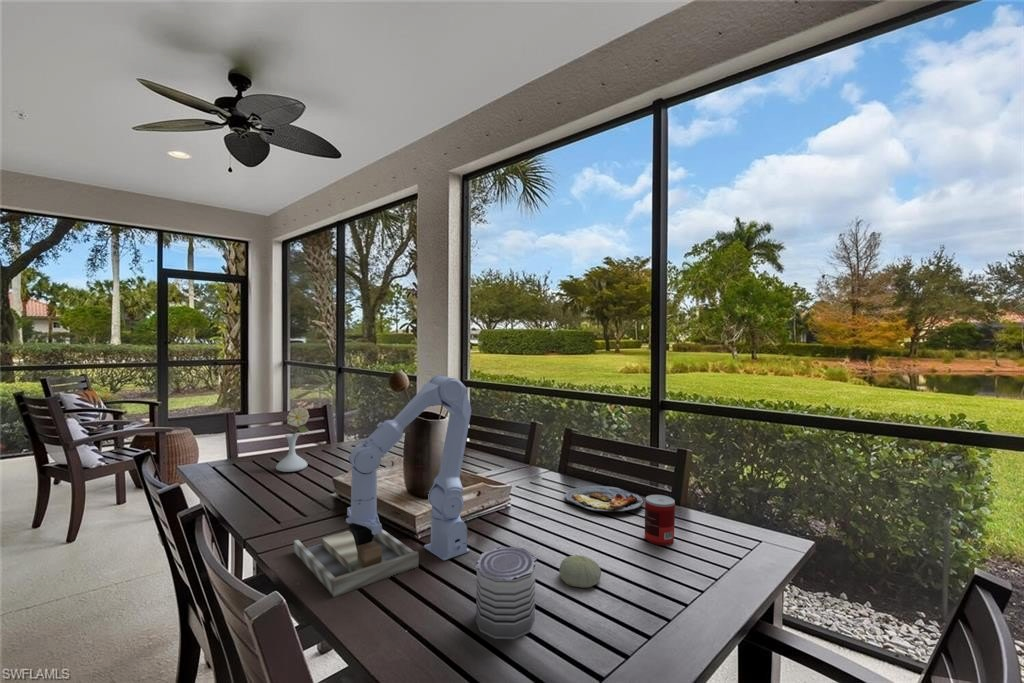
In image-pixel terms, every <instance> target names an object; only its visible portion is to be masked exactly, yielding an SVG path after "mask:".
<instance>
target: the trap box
mask: <svg viewBox="0 0 1024 683" xmlns="http://www.w3.org/2000/svg"><path fill="white" fill-rule="evenodd" d="M372 541H375V542H376V543H377V544H379V545H380V546H381V547H382V562H381V563H378V564H375V565H372V566H369V567H366V568H362V567H361V566H360V565H359V564H358V563H357V548H356V544H355V540H354V537H353V534H352V532H351V530H350V531H349V530H345V531H344V532H339V533H335V534H331V535H329V536H328V535H327V536H324V537H321V543H318V544H314V545H311V546H308V547H306V545H304V544H303V543H302V542H301V541H300V540H299V539H295V540H293V553H294V554H295V556H296V555H297V556H298V557H299V558H300V559H301V560H300V559H299V558H298V557H297V556H296V557H297V558H298V559H299V560H300V561H301V562H302V564H304V566H305V565H306V566H305V567H306V568H307V569H308V570H309V572H311V574H314V575H313V576H314V577H315V578H316V579H317V581H318V582H319V583H320V584H321V583H322V584H321V585H322V586H323V587H324V588H325V589H326V590H327V591H328V593H330V595H331V596H332V598H335V597H339V596H341V595H344V594H347V593H350V592H353V591H355V589H356V590H358V589H361V588H364V587H367V586H369V585H368V584H370V585H372V584H375V583H377V581H378V582H380V580H381V581H384V580H387V579H389V578H392V577H394V576H393V575H395V576H397V575H396V574H398V575H400V574H399V573H401V572H403V573H406V572H408V570H409V571H411V570H410V569H412V570H414V569H413V568H415V569H417V568H419V563H420V562H419V561H420V560H419V557H420V556H419V555H420V554H419V551H417V550H415V551H414V550H413V549H412V548H410V547H409V546H407V545H406V544H404V542H402V541H400V540H399V539H397V538H396V537H394V536H393V535H391V533H389V532H387V531H386V530H384V529H383V528H382V533H379V534H375V535H374V537H373V539H372ZM416 567H417V568H416ZM405 571H406V572H405ZM401 574H402V573H401ZM391 576H392V577H391ZM383 579H384V580H383ZM374 582H375V583H374ZM371 583H372V584H371ZM366 585H367V586H366ZM363 586H364V587H363Z"/></svg>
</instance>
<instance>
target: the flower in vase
mask: <svg viewBox="0 0 1024 683" xmlns="http://www.w3.org/2000/svg"><path fill="white" fill-rule="evenodd" d="M309 414H310V413H309V410H308V409H306V408H304V407H300V406H299V407H297V408H296V407H294V409H291V410H290V412H288V415H286V420H287V423H288V425H289V426H292V427H293V426H294V427H295V428H297V429H296V430H295V431H294V430H293V429H291V428H288V427H286V426H285V428H286V429H287V430H290V431H292V432H294V433H289V434H285V435H284V436H285V438H286V440H287V442H288V452H287V455H286V456H285V457H283V458H282V459H281V460H280V461H279V462H278V463H277V464H276V466H275V469H276V470H277V471H279V472H284V473H287V472H288V473H291V472H298V471H301V470H304V469H305V468H306V467H307V466H308V462H307V461H306V460H305V459H304V458H303V457H301V456H299V455H298V454H297V453H296V444H297V443H296V442H297V439H298V438H299V436H300V434H298V433H297V431H298V432H300V433H301V434H302V433H303V434H304V433H307V432H309V431H310V430H309V429H308V428H307V427H306V426H305V425H306V423H307V421H309V418H310V415H309Z"/></svg>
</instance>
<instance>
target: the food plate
mask: <svg viewBox="0 0 1024 683" xmlns="http://www.w3.org/2000/svg"><path fill="white" fill-rule="evenodd" d="M564 496H565V498H566V501H569V502H571V503H573V504H575V505H577V506H580V507H583V509H587V510H591V511H594V512H599V513H601V512H603V513H622V512H627V511H632V510H637V509H640V508H641V507H642V506H643V504H645V500H643V498H642V497H641V496H639V494H637V493H634V492H632V491H628V490H625V489H622V488H620V487H614V486H608V485H607V486H603V485H601V486H600V485H583V486H578V487H575V488H570V490H569V491H567V492H566V493H565V495H564Z"/></svg>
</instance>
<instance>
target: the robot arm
mask: <svg viewBox="0 0 1024 683" xmlns="http://www.w3.org/2000/svg"><path fill="white" fill-rule="evenodd" d="M467 392H468V387H467V386H465V384H464V383H463V382H462V381H461V380H460V379H458V378H456V377H450V376H445V375H443V374H437V375H435V376H433V377H432V378H431V379H430V380H429V382H426V383H425V384H424V385H423V386H422V387H421V388H420V390H419V391H418V392H417V393H416V395H414V397H413V398H412V399H411V400H410V401H409V402H408V403H407V404H406V405H405V406H404V408H402V410H400V412H399V413H398V414H397V415H396V416H395V417H394V418H393V419H388V420H387V419H386V420H384V421H383V422H379V423H378V424H376V427H377V428H376V429H375V430H374V431H373V432H372V433H371V434H369V436H368V437H367V438H363V439H362V441H361V442H362V443H360V444H357V445H355V446H354V447H353V448H352V450H351V452H350V454H349V455H348V461H349V462H350V464H351V466H352V467H351V480H350V481H351V483H350V485H351V486H350V488H351V489H350V491H351V492H350V506H349V507H347V508H346V510H347V511H346V515H347V516H348V517H346V519H345V522H346V523H347V524H349V525H348V528H349V530H350V532H351V533H352V534H353V537H354V540H355V544H356V548H357V550H358V546H359V545H362V544H366V543H369V542H372V539H373V537H374V535H375V534H379V533H382V529H383V526H382V523H381V522H380V519H379V515H378V512H377V511H378V510H377V509H378V507H377V503H378V502H377V501H378V499H377V496H378V495H377V491H378V477H377V475H378V474H377V473H378V472H377V469H379V467H380V464H381V462H382V458H383V457H384V456H385V455H387V453H388V452H389V451H390V450H391V449H392V448H394V447H395V445H396V444H397V443H398V442H399V441H400V440H401V439H402V438H403V436H404V429H405V428H406V427H408V426H409V425H410V424H411V423H412V422H413V421H414V420H415V419H416V418H417V417H418V416H420V415H421V414H422V413H423V412H424V411H425V410H426V409H428V408H429V407H430V408H431V407H436V406H443V407H444V408H445V409H446V410H447V412H448V413H449V417H448V422H447V427H446V432H445V433H446V434H445V439H444V445H443V449H442V451H443V452H442V456H441V460H440V467H439V472H438V475H437V476H436V477H435V478H434V480H433V484H432V487H431V488H430V489H429V491H428V492H429V494H428V501H429V503H430V504H431V505H432V510H431V511H430V543H428V544H427V543H426V544H423V548H424V549H425V550H427V551H428V552H430V553H431V554H433V555H434V556H436V557H438V558H439V559H440V560H442V561H446V560H447V561H448V560H450V559H452V558H455V557H457V556H461V555H464V554H466V553H469V552H470V548H468V526H467V524H466V523H465V522H464V521H463V519H462V518H461V515H460V514H461V513H462V511H463V509H464V506H465V503H464V502H465V501H464V497H463V491H464V489H463V488H464V487H463V485H462V484H463V483H462V482H461V474H462V473H461V472H462V466H463V460H464V454H465V450H466V444H467V438H468V433H469V431H468V430H469V427H470V426H469V425H470V421H471V416H472V406H471V403H470V400H469V396H468V394H467Z"/></svg>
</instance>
